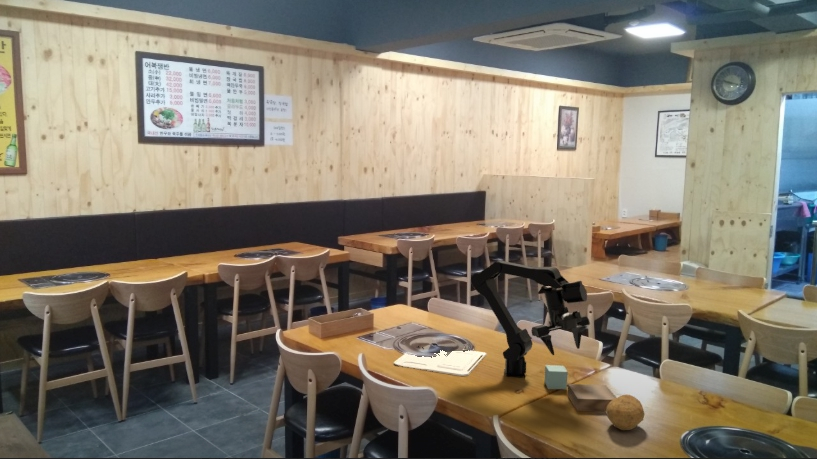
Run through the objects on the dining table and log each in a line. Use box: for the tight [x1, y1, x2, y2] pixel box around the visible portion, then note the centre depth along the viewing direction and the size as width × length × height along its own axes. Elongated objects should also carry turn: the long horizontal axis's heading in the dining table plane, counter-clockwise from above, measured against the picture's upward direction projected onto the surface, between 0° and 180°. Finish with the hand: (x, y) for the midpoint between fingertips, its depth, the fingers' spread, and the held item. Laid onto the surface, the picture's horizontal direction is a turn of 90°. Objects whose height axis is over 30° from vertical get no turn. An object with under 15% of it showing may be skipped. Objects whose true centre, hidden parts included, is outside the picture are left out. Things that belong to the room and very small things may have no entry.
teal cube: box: [544, 364, 569, 390], centre depth 197 cm, size 6×6×6 cm
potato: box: [605, 394, 646, 431], centre depth 166 cm, size 10×14×8 cm
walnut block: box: [567, 383, 617, 412], centre depth 183 cm, size 12×12×4 cm
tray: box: [393, 349, 487, 377], centre depth 222 cm, size 28×28×2 cm
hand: (565, 351), depth 196 cm, fingers open, 9 cm apart
